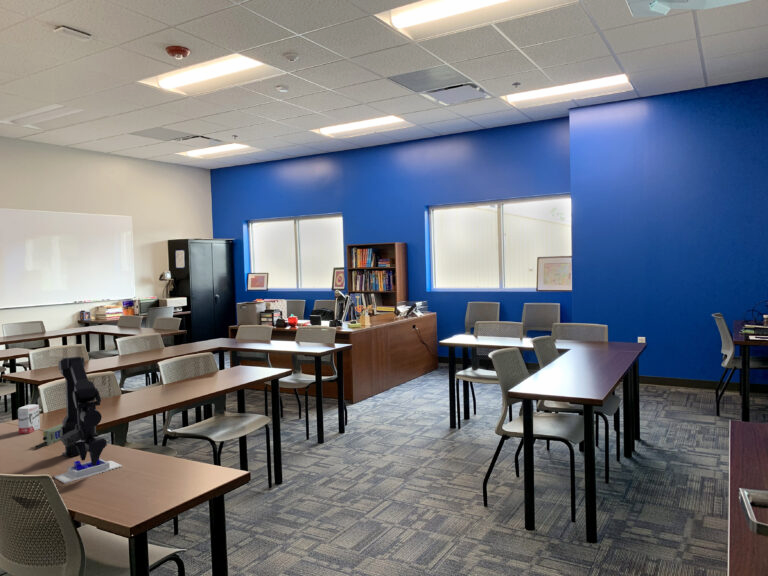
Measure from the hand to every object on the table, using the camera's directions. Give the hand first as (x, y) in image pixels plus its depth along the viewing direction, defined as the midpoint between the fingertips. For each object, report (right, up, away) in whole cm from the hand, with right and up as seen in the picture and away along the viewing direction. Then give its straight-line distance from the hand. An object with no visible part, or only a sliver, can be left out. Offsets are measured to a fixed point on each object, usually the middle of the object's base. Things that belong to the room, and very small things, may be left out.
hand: (88, 462), depth 207 cm
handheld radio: (-35, -3, +41) cm, 54 cm away
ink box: (-57, -3, +57) cm, 80 cm away
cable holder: (0, -3, 0) cm, 3 cm away
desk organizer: (0, -4, 0) cm, 4 cm away
